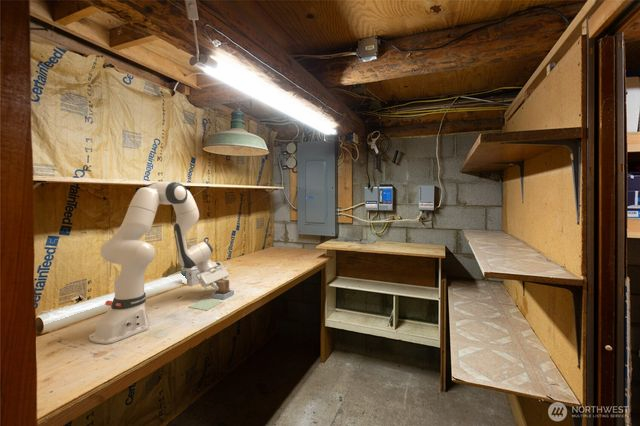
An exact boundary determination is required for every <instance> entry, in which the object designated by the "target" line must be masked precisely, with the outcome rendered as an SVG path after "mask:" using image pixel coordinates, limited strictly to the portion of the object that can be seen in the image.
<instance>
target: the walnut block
mask: <svg viewBox="0 0 640 426" xmlns="http://www.w3.org/2000/svg"><path fill="white" fill-rule="evenodd" d="M215 285H217V286H219V287H220V289H219V290H216V289H215V290H216V291H215V292H216V294H223V295H224V294H226V293H228V292H229V290H230V279H221V280H219V281H216V283H215Z"/></svg>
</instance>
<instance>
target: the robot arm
mask: <svg viewBox="0 0 640 426" xmlns="http://www.w3.org/2000/svg"><path fill="white" fill-rule="evenodd" d="M159 205H166V206H167V205H172V207H173V210H174V212H175V216H176V221H175V224H174V225H173V235H174V239H175V244H176V250H177V251H176V252H177V260H178V264H179V265H180V268H182V267H183V268H186V269H191V268H192V267H194V266H195V267H197V268H198V270H199V272H198V273H197V274H196V277H197V278H198V280H199V282H200V285H201V287H203V288H204V289H205V288H207V287H210V286H211V288H213V289H215V290H219V289H220V287H219V286H217V285H216V281H219V280H221V279H225V280H227V278H228V277H229V276H230V273H229V271H228V270H227V268H225V267H224V266H223V263H222V262H219V261H212V259H210V257H212V254H213V251H214V249H213V247H212V245H211V244H210V243H209V242H206V241H201V242H198V243H197V244H193V245H192V246H191V245H190V247H189V248H188V247H187V242H186V235H187V234H188V232H189V231H190V230H191V228H193V227H194V226H195V225H196V223H198V220H199V218H200V212H199V207H198V206H197V202H196V201H195V199H194V197H193V195H192V193H191V192H190V190H188V189H187V188H186V187H185V186H184V185H183V184H182V183H180V182H176V181H172V182H170V181H159V182H152V183H150V184H148V185H147V186H145V187H140V188H139V189H137V191H136V192H135V194H134V195H133V197H132V199H131V201H130V203H129V206H128V208H127V210H126V214H125V216H124V218H123V222H122V223H121V225H120V226H119V228H118V229H117V231H116V232H115V233H114V234H113V235H112V236H111V238H110V239H108V240H106V241H105V242H104V243H103V244H102V246H101V247H100V249H99V251H100V256H101V258H102V259H103V260H105V261H106V262H108V263H111V264H115V265H116V264H117V265H120V266H121V267H120V271H119V272H120V273H119V275H117V276H116V277H115V278H114V281H113V285H114V297H113V300H106V301H105V303H104V305H106V306H108V307H110V308H109V309H108V310H107V312H106V313H104V314H103V316H102V317H101V318H100V319H98V321H96V325H95V331H94V332H93V333H91V334H89V335H88V340H89V341H90V342H93V343H96V344H103V345H105V344H108V345H109V344H114V343H116V342H119V341H121V340H124V339H126V338H130V337H131V336H134V335H137V334H140V333H142V332H146V331H147V330H149V326H150V323H151V322H150V318H149V316H148V313H147V307H146V301H147V300H146V299H147V297H146V292H145V273H146V271H147V268H148V266H149V265H150V263H152V261H154V259H155V256H156V249H155V247H154V246H153V245H152V244H151V243H149V242H147V241H144V240H141V239H142V237H143V236H144V235H146V234H147V233H149V231H150V230H151V229H152V227H153V223H154V220H155V217H156V214H157V212H158V208H159Z"/></svg>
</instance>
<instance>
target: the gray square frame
mask: <svg viewBox="0 0 640 426" xmlns="http://www.w3.org/2000/svg"><path fill="white" fill-rule="evenodd" d="M234 295H235V290H234V289H233V290H232V289H229V292H228V293H226V294H224V295H223V294H216V291H214V292H212V293H211V298H212V299H215V300H216V299H218V300H224V301H225V300H226V299H229V298H230V297H233V296H234Z"/></svg>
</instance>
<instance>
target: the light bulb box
mask: <svg viewBox="0 0 640 426" xmlns="http://www.w3.org/2000/svg"><path fill="white" fill-rule="evenodd" d="M198 272H199V270H198V268H197V266H194V267H192V268H191V269H186V268H183V267H180V275H181V274H182V275H183V276H185V278H186V279H187V285H186V286H189V287H190V286H191V287H194V286H196V285H199V284H200V282H199V280H198V278H197V277H196V274H197V273H198ZM200 285H201V284H200Z"/></svg>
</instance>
